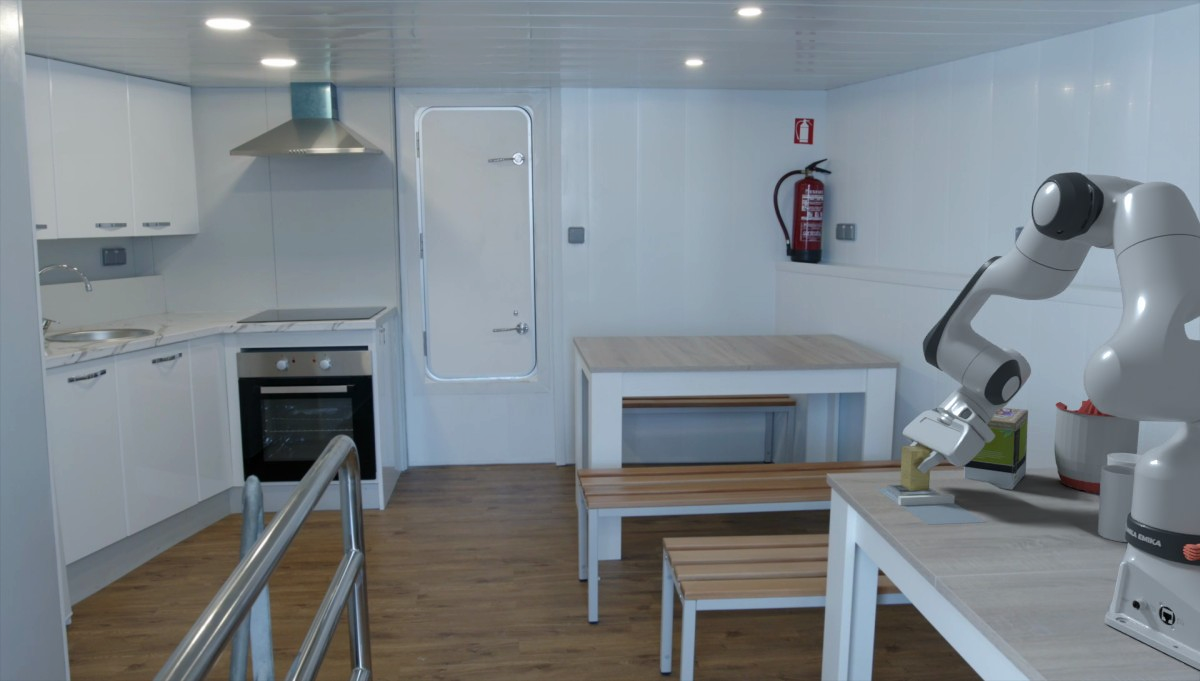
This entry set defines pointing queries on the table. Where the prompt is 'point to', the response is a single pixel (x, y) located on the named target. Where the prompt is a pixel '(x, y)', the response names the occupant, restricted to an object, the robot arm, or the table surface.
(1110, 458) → the white cup
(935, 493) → the frame
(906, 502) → the plate
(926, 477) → the block
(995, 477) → the tea box
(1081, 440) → the citrus juicer
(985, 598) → the table surface
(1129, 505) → the mug
